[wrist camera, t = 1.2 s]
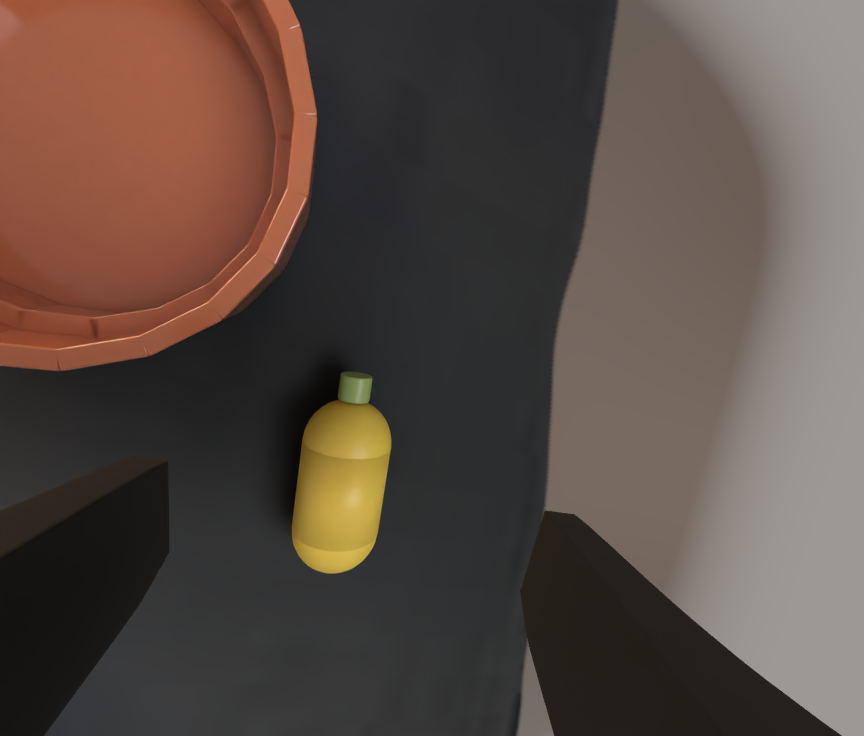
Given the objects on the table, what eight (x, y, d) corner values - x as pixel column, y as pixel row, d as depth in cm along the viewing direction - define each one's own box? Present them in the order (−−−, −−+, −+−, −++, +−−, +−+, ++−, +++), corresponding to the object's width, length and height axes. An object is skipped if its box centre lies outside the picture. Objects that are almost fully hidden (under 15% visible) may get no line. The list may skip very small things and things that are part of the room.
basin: (292, 362, 18) (286, 392, 13) (-146, 313, 14) (-385, 331, 9) (334, -2, 16) (345, -124, 11) (-167, -178, 12) (-491, -487, 7)
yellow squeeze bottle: (366, 541, 20) (377, 591, 17) (288, 541, 19) (284, 595, 16) (392, 370, 19) (409, 389, 16) (310, 361, 18) (311, 380, 15)
